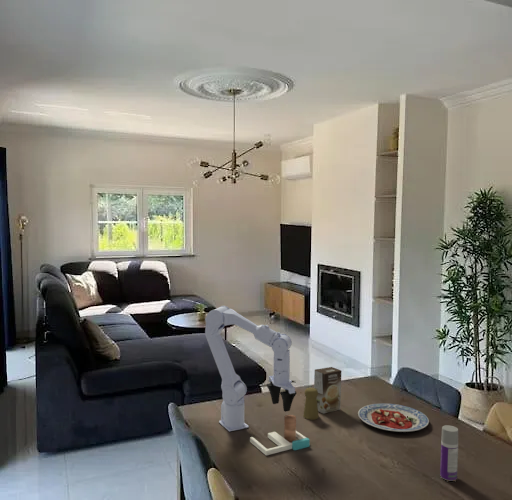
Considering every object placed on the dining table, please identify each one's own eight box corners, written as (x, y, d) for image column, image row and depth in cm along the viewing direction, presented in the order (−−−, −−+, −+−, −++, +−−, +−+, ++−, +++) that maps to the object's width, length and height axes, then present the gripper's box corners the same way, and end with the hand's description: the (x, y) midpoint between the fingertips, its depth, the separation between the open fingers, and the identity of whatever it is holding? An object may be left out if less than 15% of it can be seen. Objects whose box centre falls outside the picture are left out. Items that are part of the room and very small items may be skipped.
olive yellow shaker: (318, 420, 184) (318, 391, 184) (302, 418, 185) (302, 390, 185) (319, 414, 190) (319, 386, 189) (303, 412, 191) (304, 385, 191)
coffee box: (323, 414, 190) (323, 373, 189) (313, 408, 196) (313, 369, 195) (341, 409, 195) (341, 370, 194) (330, 404, 200) (331, 366, 199)
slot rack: (249, 441, 166) (250, 434, 166) (291, 431, 174) (291, 424, 174) (268, 457, 155) (268, 449, 155) (311, 445, 163) (312, 438, 163)
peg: (281, 438, 169) (282, 416, 168) (291, 436, 170) (291, 414, 170) (288, 443, 165) (288, 420, 165) (297, 440, 167) (298, 418, 166)
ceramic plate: (352, 429, 177) (352, 421, 177) (364, 404, 201) (364, 397, 201) (426, 442, 167) (427, 433, 167) (430, 414, 191) (430, 407, 191)
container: (437, 473, 146) (438, 425, 145) (452, 473, 146) (453, 424, 145) (444, 482, 141) (446, 432, 140) (460, 481, 141) (461, 431, 141)
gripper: (302, 373, 167) (302, 412, 168) (280, 362, 180) (280, 398, 181) (285, 376, 164) (284, 415, 165) (263, 365, 176) (263, 401, 177)
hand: (281, 407), depth 172 cm, fingers open, 7 cm apart
